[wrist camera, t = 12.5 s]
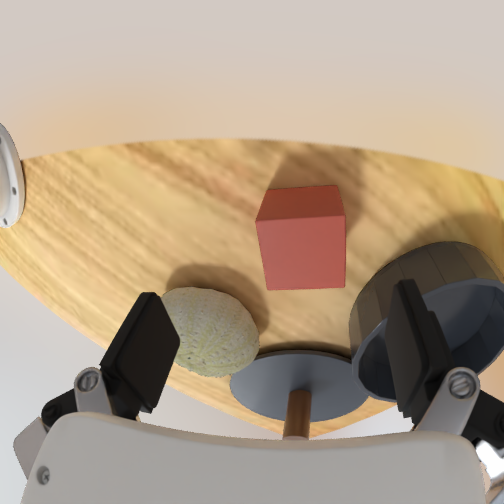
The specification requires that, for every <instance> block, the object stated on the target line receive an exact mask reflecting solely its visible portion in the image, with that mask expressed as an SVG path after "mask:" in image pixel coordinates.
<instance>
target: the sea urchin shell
mask: <svg viewBox="0 0 504 504" xmlns="http://www.w3.org/2000/svg"><path fill="white" fill-rule="evenodd" d="M161 300H162V302H163V304H164V306H165V308H166V310H167V313H168V315H169V317H170V319H171V321H172V323H173V325H174V327H175V329H176V331H177V333H178V335H179V337H180V346H179V349H178V351H177V354H176V357H175V359H174V362H175V363H177V364H178V365H180V366H181V367H184V368H187V369H188V370H189V371H193V372H195V373H197V374H199V375H201V376H206V377H216V378H217V377H220V378H221V377H222V376H223V377H224V376H226V375H231V374H233V373H236V372H239V371H240V370H242V369H244V368H245V367H247V366H248V365H250V364H251V363H252V362H253V360H254V359H255V357H256V355H257V353H258V350H259V349H260V348H259V347H260V345H259V343H260V342H259V331H258V330H257V327H256V326H255V323H254V321H253V319H252V316H251V315H250V312H248V311H247V309H246V308H245V307H244V306H243V305H242V304H241V303H240V302H239V300H238V299H235V298H233V297H232V296H231V295H229V294H226V293H223V292H218V291H216V290H213V289H201V288H197V287H193V286H192V287H184V288H174V289H173V290H171V291H169V292H166V293H165V294H163V296H162V297H161Z"/></svg>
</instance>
